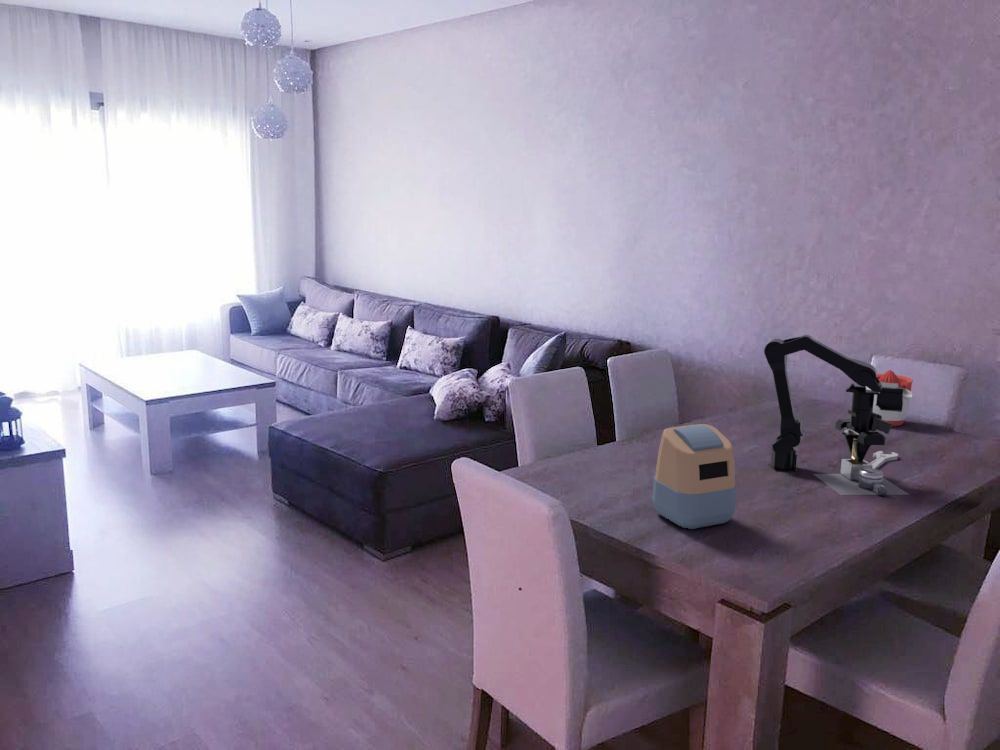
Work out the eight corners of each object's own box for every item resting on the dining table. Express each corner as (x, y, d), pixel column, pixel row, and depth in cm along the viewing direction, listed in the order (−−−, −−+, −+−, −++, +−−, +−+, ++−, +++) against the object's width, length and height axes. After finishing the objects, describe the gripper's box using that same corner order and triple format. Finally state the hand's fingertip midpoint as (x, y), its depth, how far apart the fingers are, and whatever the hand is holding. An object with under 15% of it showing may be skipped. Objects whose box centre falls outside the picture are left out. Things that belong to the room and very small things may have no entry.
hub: (864, 492, 223) (865, 474, 222) (853, 484, 229) (855, 467, 228) (885, 491, 223) (887, 474, 222) (875, 484, 229) (876, 467, 228)
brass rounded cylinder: (854, 466, 232) (856, 441, 230) (848, 462, 235) (851, 437, 233) (864, 466, 232) (867, 441, 230) (859, 462, 235) (862, 437, 234)
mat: (840, 495, 220) (840, 494, 220) (813, 474, 237) (813, 474, 237) (909, 495, 220) (909, 494, 220) (876, 474, 238) (876, 473, 238)
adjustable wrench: (869, 477, 237) (870, 471, 237) (847, 472, 242) (848, 466, 241) (900, 458, 255) (900, 453, 254) (879, 454, 259) (879, 449, 259)
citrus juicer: (889, 431, 285) (895, 376, 281) (852, 419, 301) (857, 367, 297) (922, 427, 291) (928, 373, 287) (884, 416, 307) (889, 364, 303)
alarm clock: (685, 535, 193) (689, 441, 188) (645, 512, 208) (649, 425, 203) (740, 524, 199) (746, 434, 194) (698, 503, 214) (703, 418, 210)
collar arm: (895, 495, 218) (896, 480, 217) (872, 495, 218) (874, 480, 217) (861, 472, 237) (862, 458, 236) (840, 472, 237) (841, 458, 236)
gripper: (907, 416, 221) (901, 470, 224) (873, 400, 239) (868, 450, 243) (867, 416, 221) (861, 470, 224) (836, 400, 239) (832, 451, 242)
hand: (857, 460), depth 233 cm, fingers closed on brass rounded cylinder, 3 cm apart
